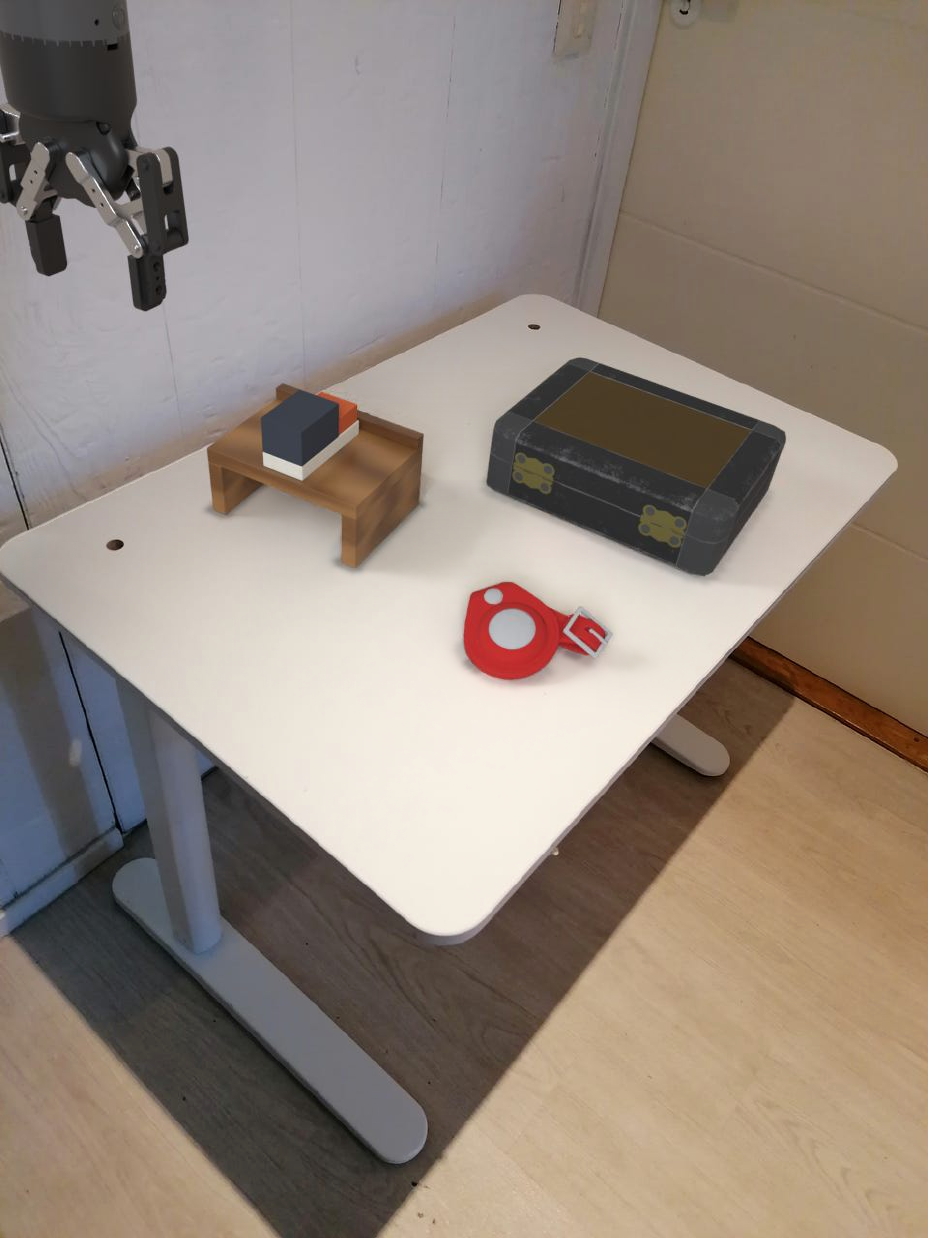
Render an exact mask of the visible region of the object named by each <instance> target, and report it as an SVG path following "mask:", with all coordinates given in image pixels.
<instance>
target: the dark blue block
mask: <svg viewBox="0 0 928 1238" xmlns="http://www.w3.org/2000/svg"><path fill="white" fill-rule="evenodd" d="M357 410H358V403H355V402H352V401H349V400H346V399H343V398H341V397H338V396H335V395H332V394H330V393H327V392H324V391H320V392H318V393H317V394H315V395H314V393H311V392H310V391H309V392H308V391H306V390H303V389H301V390H298V391H297V392H296V393H294V394H293V395H291V396H290V397H289V398H287V399H286V400H284V401H283V402H282V403H280V404H279V405H277V406H276V407H275V408H273V409H272V410H271V411H269V412H268V413H266V414H265V415H264V416H262V417H261V433H262V450H263V465H264V466H265V467H268V468H270V469H273V470H275V471H278V472H281V473H283V474H286V475H288V476H291V477H293V478H296V479H298V480H301V481H303V480H304V479H305V478H306V477H308V476H309V475H310V474H311V473H312V472H314V471H315V470H316V469H317V468H318V467H320V466H321V465H322V464H323V463H324V462H326V461H327V460H328V459H329V458H330V457H332V456H333V455H334V454H335V453H336V452H338V451H339V450H340V449H341V448H342V447H344V446H345V445H346V444H347V443H348V442H350V441H351V440H352V439H353V438H354V437H356V436H357V435H358V434H359V421H358V420H357Z"/></svg>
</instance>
